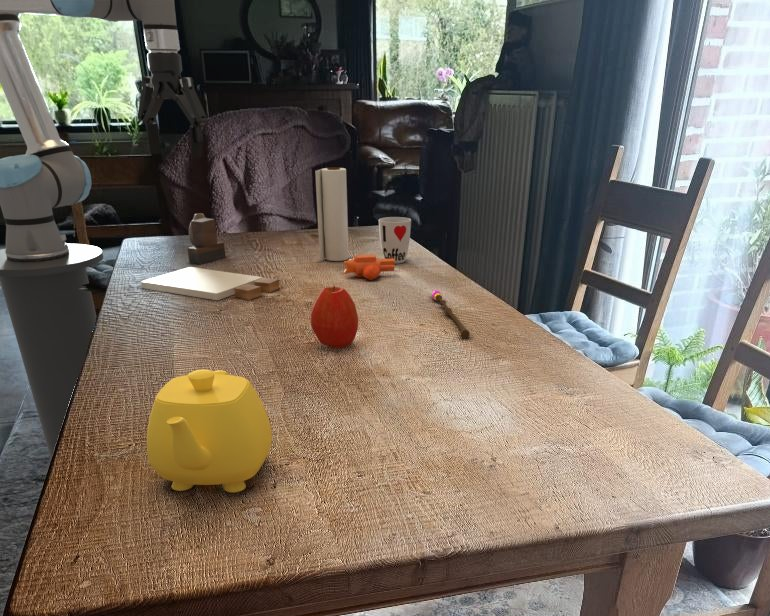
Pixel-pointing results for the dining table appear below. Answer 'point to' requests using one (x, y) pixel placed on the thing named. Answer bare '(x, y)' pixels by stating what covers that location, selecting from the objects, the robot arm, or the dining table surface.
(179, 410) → the teapot
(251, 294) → the brown wooden block
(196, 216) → the vase
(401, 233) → the cup
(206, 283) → the board
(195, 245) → the wooden toy block
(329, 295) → the apple
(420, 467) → the dining table surface
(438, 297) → the magic wand
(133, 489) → the dining table surface
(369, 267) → the orange toy bird
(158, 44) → the robot arm
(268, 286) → the tan wooden block
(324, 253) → the paper towel roll
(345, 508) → the dining table surface
